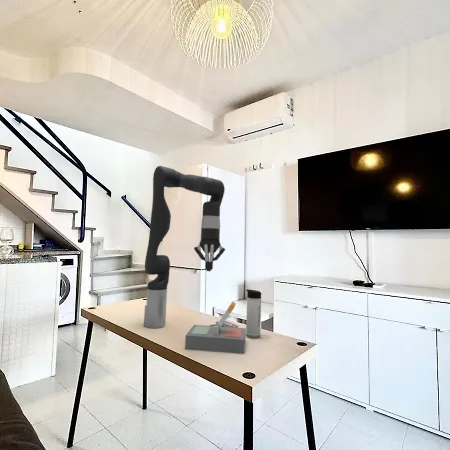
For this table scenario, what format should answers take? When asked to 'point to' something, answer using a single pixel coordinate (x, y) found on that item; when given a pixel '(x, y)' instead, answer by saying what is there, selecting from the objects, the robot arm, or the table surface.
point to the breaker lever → (226, 314)
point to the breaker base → (216, 338)
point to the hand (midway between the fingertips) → (208, 271)
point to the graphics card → (227, 325)
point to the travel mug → (253, 314)
